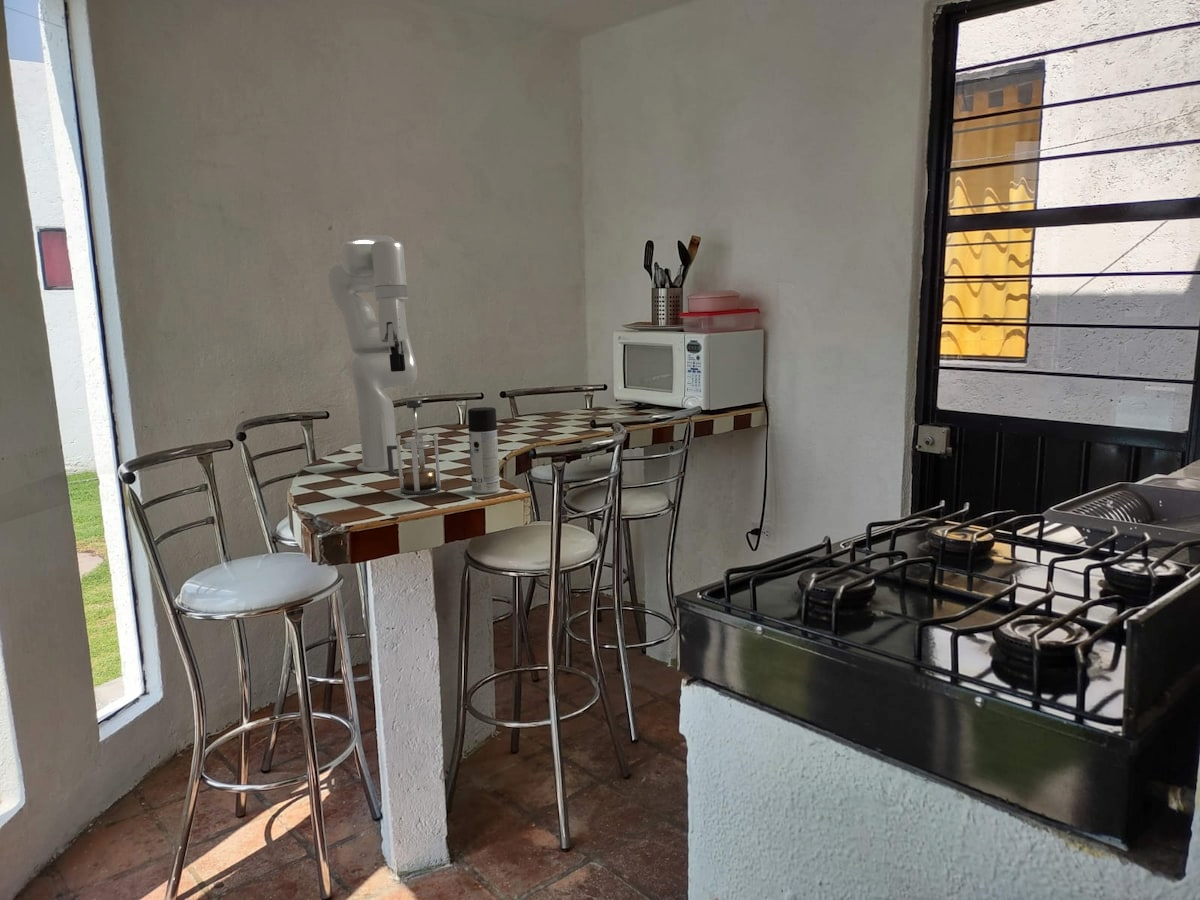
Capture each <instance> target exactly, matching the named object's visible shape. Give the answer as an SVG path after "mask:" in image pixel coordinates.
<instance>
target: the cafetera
mask: <svg viewBox="0 0 1200 900" xmlns="http://www.w3.org/2000/svg"><path fill="white" fill-rule="evenodd" d="M411 436H412V437H413V436H414V437H415V432H412V433H411ZM423 436H428V432H427V431H426V432H425V431H424V432H418V439H415V438H405V443H409V442H411V449H410V450H411V460H412V461H411V462H412V463H411V464H412V468H410V469H406V470H404V471H403V467H402V461H403V460H402V452H401V451H402V450H401V449H402V448H401V438H402V436H401V435H399V434H398V435H396V437H395V440H396V443H397V445H394V446H392V445H388V446H387V456H388V468H389V471H388V476H389V477H399V488H400V489H399V490H400V494H401V495H403V494H404V495H403V496H409V495H419V496H427V495H433V494H436V493H438V491H439V492H440V491H441V490H442V488H441V485H442V484H441V472H440V471H441V470H440V457H439V455H440V454H439V443H438V437H439V433H434V435H433V436H432V439H433V446H434V457H435V468H433V467H432V468H431V467H426V466H425V465H426V463H425V452H424V450H425V448H423V449H417V443H416V442H421V441H424V437H423ZM393 449H397V455H398V468H399V469H398V471H395V470H394V465H393V453H392V450H393ZM401 460H402V461H401Z"/></svg>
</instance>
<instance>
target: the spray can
mask: <svg viewBox="0 0 1200 900" xmlns="http://www.w3.org/2000/svg"><path fill="white" fill-rule="evenodd" d="M467 418H468V421H467V422H468V440H469V458H470V478H471V490H472V493H473V494H477V495H489V494H494V493H498V492H499V491H500V488H501V485H500V464H499V463H500V462H499V446H498V444H499V443H498V427H497V426H498V425H497V423H498V421H497V411H496V407H487V406H484V407H482V406H481V407H472V408H469V409H468V410H467Z"/></svg>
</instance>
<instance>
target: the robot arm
mask: <svg viewBox="0 0 1200 900" xmlns="http://www.w3.org/2000/svg"><path fill="white" fill-rule="evenodd" d="M339 256H340V257H339V258H340V263H338V264H335V265H333V266H331V268H330V269H329V270H328V274H327V278H328V279H327V280H328V282H327V283H328V287H329V291H330V293H331V294H330V295H331V296H332V299H333V301H334V303H335V305H336V306H337V308H338V310H339V311H340V313H341V315H342V317H343V320H344V323H345V324H344V325H345V329H346V332H347V337H348V341H349V344H350V348H351V350H352V352H354V354H355V355H358V356H355V358H353V360H352V361H351V362H350V363H351V365H350V373H351V377H352V380H353V385H354V389H355V394H356V403H357V413H358V424H359V433H360V434H359V436H360V445H361V446H360V447H361V459H362V462H360V463H358V464H357V466H356V468H357V470H358V471H359V472H365V473H366V472H367V473H368V472H369V473H376V472H378V473H380V472H389V468H388V456H387V446H388V445H392V446H394V445H397V443H396V440H395V437H397V433H396V432H397V431H396V418H395V417H396V416H395V408H394V407H395V406H394V403H393V400H392V399H391V398H390V397H389V395H387V394H386V393H385V391H383V389H387V388H395V387H396V388H398V387H406V386H411V385H413V384H415V382H416V381H417V379H418V367H417V366H418V365H417V361H416V357H415V354H414V350H413V347H412V343H411V340H410V339H411V338H410V335H409V333H408V328H407V327H408V325H407V315H406V307H405V301H408V300H409V296H408V295H409V294H408V284H407V283H408V282H407V272H406V262H405V261H406V258H405V257H406V256H405V250H404V244H403V243H402V242H401V241H398V240H395V239H394V238H393V237H392V236H389V235H386V234H384V235H380V234H378V235H376V234H375V235H374V234H373V235H371V234H370V235H363V234H362V235H360V234H359V235H353V236H350V238H347V239H346V240H345V242H344V243H343V244H342V245H341V248H340V255H339ZM358 293H359V294H361V293H363V294H364V293H374V295H375V301H376V302H378V319H377V318H376V314H375V311H374V308H373V306H371V304H370V303H369V302H368V301H367V300H365V299H364V298H362V297H361V296H359V294H358ZM392 453H393V465H394V471H395V470H399V468H398V455H397V449H393V450H392ZM401 461H402V468H403V467H404V466H405V462H404V461H403V460H402V459H401Z"/></svg>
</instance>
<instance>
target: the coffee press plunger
mask: <svg viewBox="0 0 1200 900" xmlns="http://www.w3.org/2000/svg"><path fill="white" fill-rule="evenodd" d="M405 402H406V403H405V404H406V408H407V409H412V410H413V411H412V413H413V414H412V415H413V424H414V425H413V426H414V427H413V428H414V433H415V436H414V439H418V433H419V429H418V418H417V408H422V407H423V400H422V399H416V398H415V399H408V400H406V401H405ZM416 443H417V450H418V449H423V448H424V449H427V448H431V447H433V446H434V443H433V442H432V441H425V440H423V441H421V442H416ZM401 449H405V450H411V442H405V443H402V445H401Z"/></svg>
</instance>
